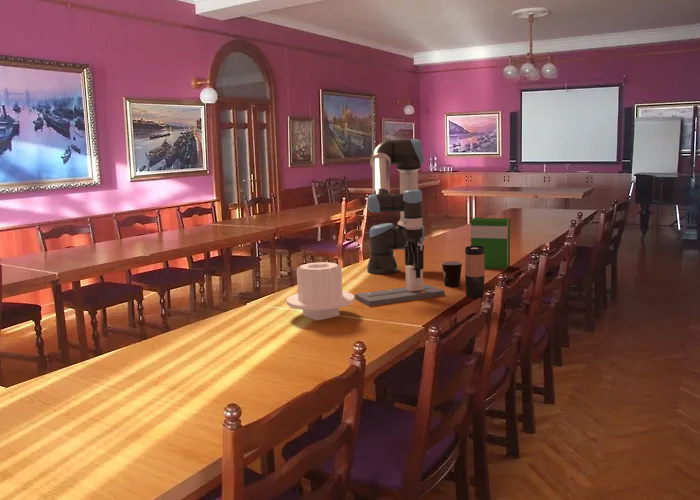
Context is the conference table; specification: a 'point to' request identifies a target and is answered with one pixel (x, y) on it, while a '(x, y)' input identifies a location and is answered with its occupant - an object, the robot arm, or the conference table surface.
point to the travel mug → (474, 271)
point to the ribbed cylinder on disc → (320, 291)
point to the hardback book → (492, 240)
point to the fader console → (397, 295)
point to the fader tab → (412, 279)
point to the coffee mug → (452, 273)
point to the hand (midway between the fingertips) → (414, 284)
